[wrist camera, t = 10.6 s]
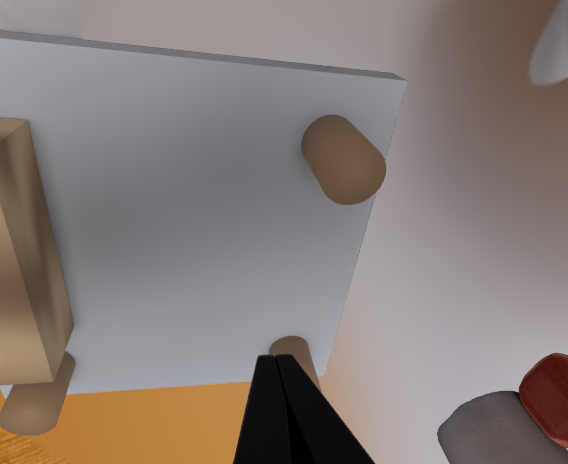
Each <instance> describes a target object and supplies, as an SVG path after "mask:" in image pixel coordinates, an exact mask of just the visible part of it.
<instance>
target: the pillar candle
mask: <svg viewBox="0 0 568 464" xmlns="http://www.w3.org/2000/svg"><path fill="white" fill-rule="evenodd" d="M437 435H438V440H439V443H440V445H441V447H442V449H443V451H444V453H445V455H446V457H447V459H448V461H449V463H450V464H568V451H567V449H566V448H565V447H563V446H561V445H559V444H558V443H556V442H555V441H553V440H552V439H550V438H549V437H548V436H547V435H546V434H545V433H544V431H543V430H542V429H541V427H540V426H539V425H538V424H537V423H536V421H535V420H534V419H533V417H532V416H531V415H530V414H529V412H528V411H527V410H526V408H525V407H524V405H523V404H522V401H521V399H520V394H519V392H515V391H499V392H493V393H489V394H486V395H483V396H480V397H477V398H474V399H472V400H471V401H469V402H466V403H464V404H462V405H461V406H459V407H458V408H457V409H456V410H455V411H454V412H453V414H452V415H451V416H450V417H449V418H448V419H447V420H446V421H445V422H444V423H443V424H442V425H441V426H440V427H439V429H438V432H437Z"/></svg>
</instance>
